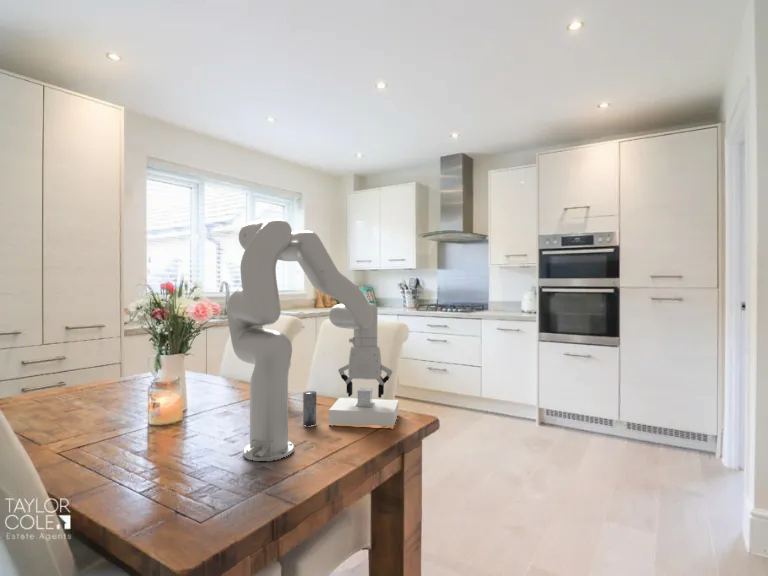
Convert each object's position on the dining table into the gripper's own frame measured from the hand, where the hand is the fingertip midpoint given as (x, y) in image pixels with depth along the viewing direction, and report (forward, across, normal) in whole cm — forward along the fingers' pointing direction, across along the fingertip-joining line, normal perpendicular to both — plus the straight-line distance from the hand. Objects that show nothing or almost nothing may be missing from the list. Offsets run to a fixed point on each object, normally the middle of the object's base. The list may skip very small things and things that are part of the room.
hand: (365, 396), depth 138 cm
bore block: (+8, 0, 0) cm, 8 cm away
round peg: (+8, -16, -7) cm, 19 cm away
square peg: (+8, 0, 0) cm, 8 cm away
